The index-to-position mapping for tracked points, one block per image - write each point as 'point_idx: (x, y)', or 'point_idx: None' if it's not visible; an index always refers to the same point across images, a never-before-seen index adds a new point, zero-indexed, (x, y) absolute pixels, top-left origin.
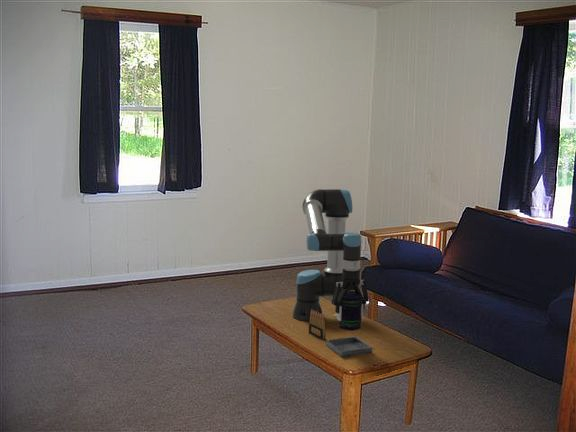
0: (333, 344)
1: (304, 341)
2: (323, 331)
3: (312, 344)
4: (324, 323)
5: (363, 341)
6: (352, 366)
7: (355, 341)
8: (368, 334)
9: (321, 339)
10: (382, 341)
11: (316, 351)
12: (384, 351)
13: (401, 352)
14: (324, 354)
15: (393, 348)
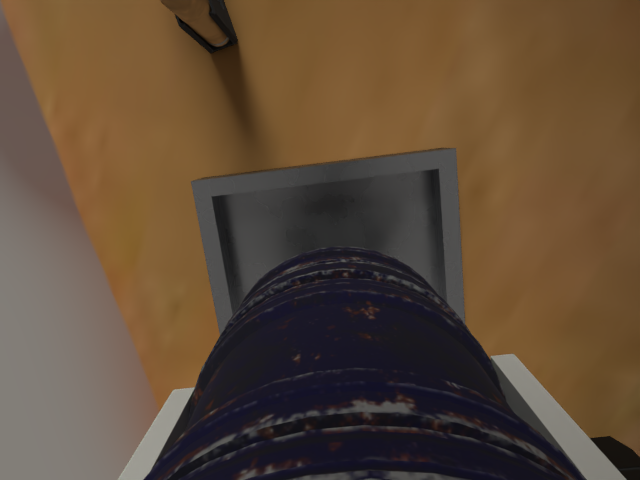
0: (221, 277)
1: (65, 52)
2: (199, 30)
3: (113, 130)
4: (183, 4)
5: (461, 271)
6: None
7: (431, 178)
8: (617, 15)
9: (205, 41)
10: (634, 193)
11: (113, 263)
12: (543, 363)
13: (636, 401)
14: (152, 322)
15: (628, 331)
